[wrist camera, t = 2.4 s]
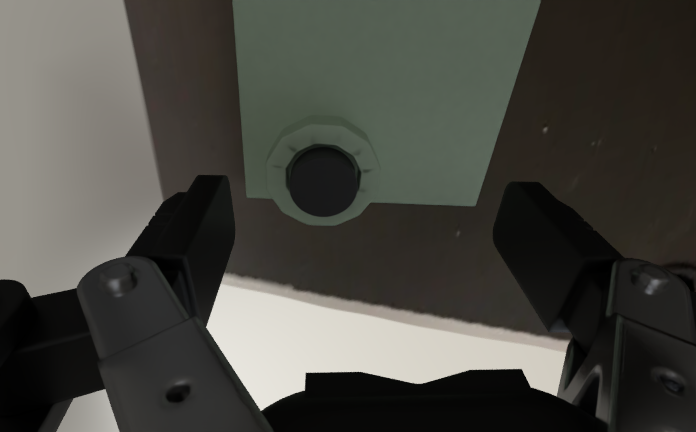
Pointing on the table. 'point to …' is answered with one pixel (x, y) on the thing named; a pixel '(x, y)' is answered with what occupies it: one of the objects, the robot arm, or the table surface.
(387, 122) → the scale
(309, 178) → the button
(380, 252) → the table surface
